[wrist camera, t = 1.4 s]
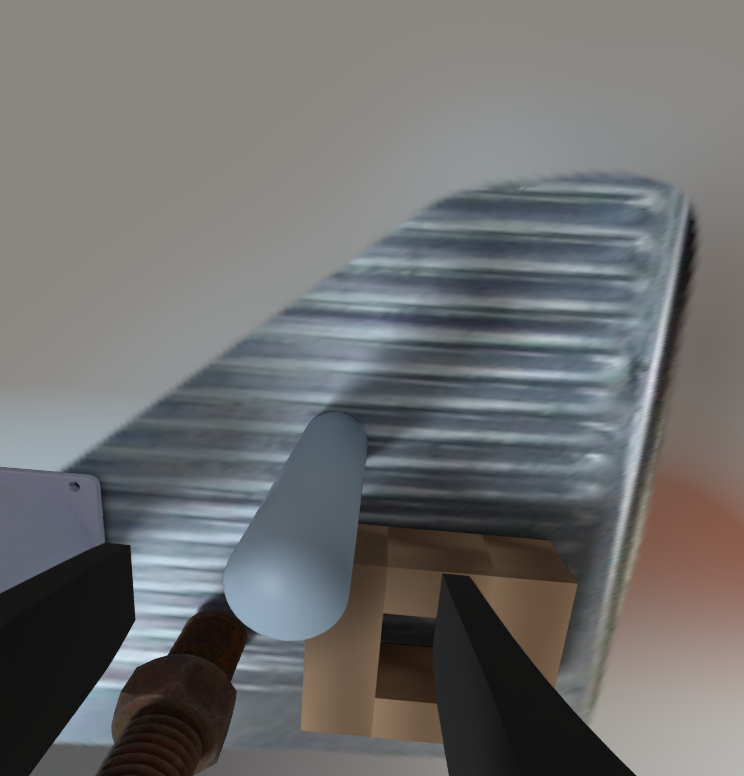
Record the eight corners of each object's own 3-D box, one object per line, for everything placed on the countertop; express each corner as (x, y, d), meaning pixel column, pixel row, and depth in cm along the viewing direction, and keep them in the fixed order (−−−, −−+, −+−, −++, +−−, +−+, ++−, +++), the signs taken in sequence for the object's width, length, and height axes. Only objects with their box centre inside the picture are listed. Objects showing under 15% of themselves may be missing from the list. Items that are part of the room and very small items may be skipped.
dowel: (301, 470, 19) (223, 634, 10) (304, 409, 19) (222, 525, 9) (365, 475, 19) (345, 646, 10) (370, 414, 19) (353, 536, 9)
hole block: (312, 671, 22) (300, 730, 19) (320, 520, 20) (308, 559, 17) (519, 691, 22) (540, 753, 19) (549, 540, 20) (577, 583, 17)
